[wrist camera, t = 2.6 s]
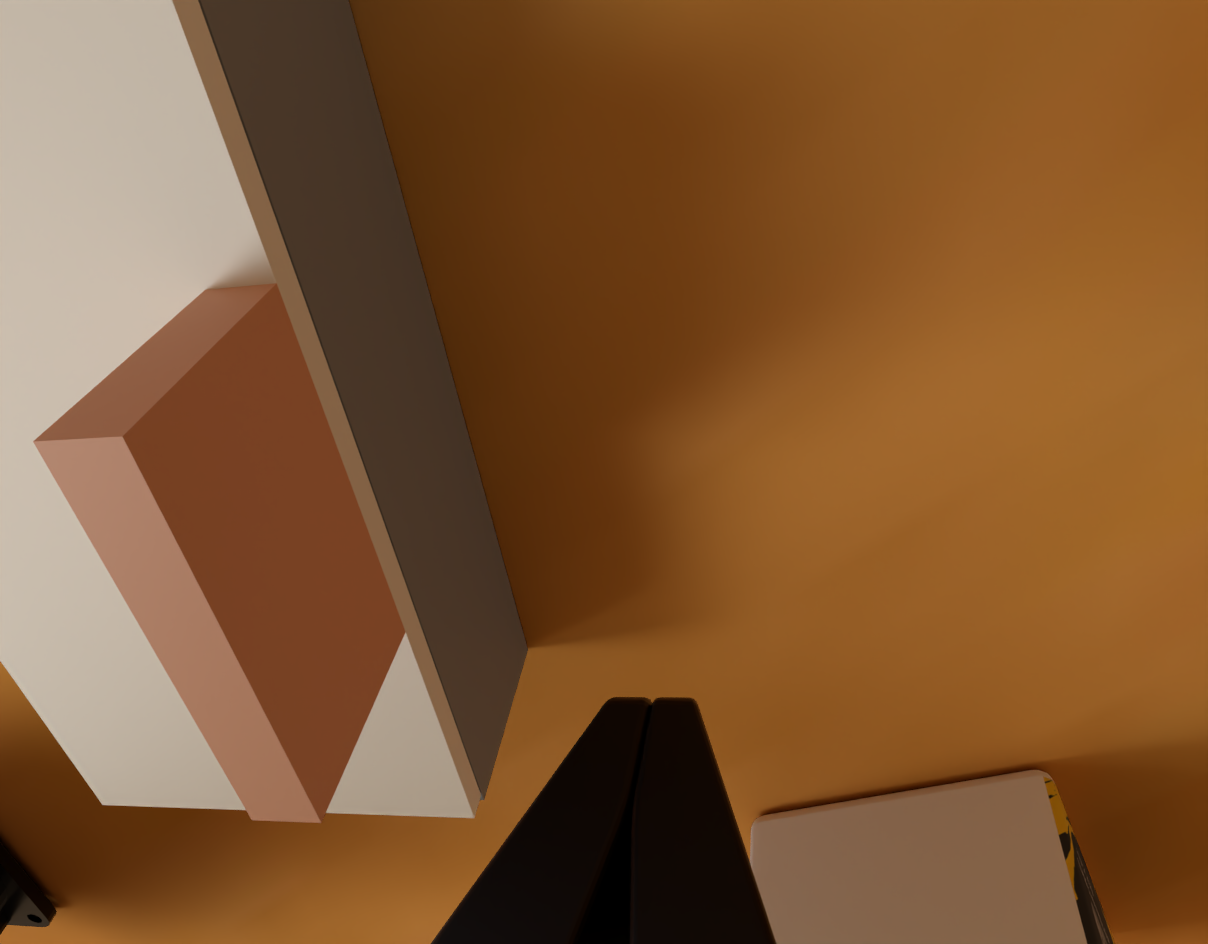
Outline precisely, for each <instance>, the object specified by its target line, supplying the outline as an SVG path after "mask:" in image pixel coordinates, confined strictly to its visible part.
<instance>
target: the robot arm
mask: <svg viewBox="0 0 1208 944" xmlns="http://www.w3.org/2000/svg"><path fill="white" fill-rule="evenodd" d="M56 912H57V911H56V909H55V908H54V906H53V905H52V904H51V903H50V902H49V900H48V899H47V898H46V897H45V896H44V894H43V893H42V892H41V891H40V890H39V888H38V887H37V886H36V885H35V884H34V882H33V881H32V880H31V879H30V878H29V876H28V875H27V874H26V873H25V872H24V870H23V869H22V868H21V867H20V865H19V864H18V863H17V862H16V861H15V859H14V858H13V857H12V856H11V855H10V853H9V852H8V851H7V850H6V849H5V847H4V846H3V845H2V844H1V843H0V934H1V933H2V931H3V930H4V929H5V927H6V926H7V925H19V926H34V927H47V926H48V925H49V924H50V923H51V921H52V919H53V918H54V916H55V915H56ZM431 944H777V943H776V940H775V937H774V934H773V931H772V928H771V925H770V922H769V919H768V916H767V913H766V910H765V907H764V904H763V901H762V898H761V895H760V892H759V889H758V886H757V883H756V880H755V877H754V874H753V871H752V868H751V865H750V861H749V858H748V855H747V852H746V849H745V846H744V843H743V840H742V837H741V834H740V831H739V828H738V825H737V822H736V819H735V816H734V813H733V810H732V807H731V804H730V801H729V798H728V795H727V792H726V789H725V786H724V783H723V780H722V776H721V773H720V770H719V767H718V764H717V761H716V758H715V755H714V752H713V749H712V746H711V743H710V740H709V737H708V734H707V731H706V728H705V725H704V722H703V719H702V716H701V713H700V710H699V707H698V704H697V702H696V701H695V700H694V699H692V698H672V697H661V698H657V699H655V700H654V702H653V703H652V702H651V700H649V699H648V698H645V697H615V698H611V699H609V700H608V701H607V702H606V703H605V704H604V705H603V706H602V708H601V709H600V711H599V712H598V713H597V715H596V716H595V717H594V719H593V720H592V722H591V723H590V724H589V726H588V727H587V729H586V730H585V731H584V733H583V734H582V735H581V737H580V738H579V740H578V741H577V742H576V744H575V745H574V747H573V748H572V749H571V751H570V752H569V753H568V755H567V756H566V758H565V759H564V760H563V762H562V763H561V764H560V766H559V767H558V769H557V770H556V771H555V773H554V774H553V776H552V777H551V778H550V780H549V781H548V782H547V784H546V785H545V787H544V788H543V789H542V791H541V792H540V793H539V795H538V796H537V798H536V799H535V800H534V802H533V803H532V805H531V806H530V807H529V809H528V810H527V811H526V813H525V814H524V816H523V817H522V818H521V820H520V821H519V822H518V824H517V825H516V827H515V828H514V829H513V831H512V832H511V834H510V835H509V836H508V838H507V839H506V840H505V842H504V843H503V845H502V846H501V847H500V849H499V850H498V852H497V853H496V854H495V856H494V857H493V858H492V860H491V861H490V863H489V864H488V865H487V867H486V868H485V869H484V871H483V872H482V874H481V875H480V876H479V878H478V879H477V881H476V882H475V883H474V885H473V886H472V887H471V889H470V890H469V892H468V893H467V894H466V896H465V897H464V898H463V900H462V901H461V903H460V904H459V905H458V907H457V908H456V910H455V911H454V912H453V914H452V915H451V916H450V918H449V919H448V921H447V922H446V923H445V925H444V926H443V927H442V929H441V930H440V932H439V933H438V934H437V936H436V937H435V939H434V940H433V941H432V943H431Z"/></svg>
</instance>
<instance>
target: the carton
mask: <svg viewBox="0 0 1208 944" xmlns="http://www.w3.org/2000/svg"><path fill="white" fill-rule="evenodd" d="M198 2H199V4H200V7H201V10H202V13H203V16H204V18H205V21H206V24H207V27H208V30H209V32H210V35H211V38H212V41H213V44H214V46H215V49H216V52H217V55H218V58H219V61H220V63H221V66H222V69H223V72H224V75H225V77H226V80H227V83H228V86H229V89H230V91H231V94H232V97H233V100H234V103H235V105H236V108H237V111H238V114H239V117H240V120H241V122H242V125H243V128H244V131H245V134H246V136H247V139H248V142H249V145H250V148H251V150H252V153H253V156H254V159H255V162H256V165H257V167H258V170H259V173H260V176H261V179H262V181H263V184H264V187H265V190H266V193H267V195H268V198H269V201H270V204H271V207H272V209H273V212H274V215H275V218H276V221H277V224H278V226H279V229H280V232H281V235H282V238H283V240H284V243H285V246H286V249H287V252H288V254H289V257H290V260H291V263H292V266H293V268H294V271H295V274H296V277H297V280H298V283H299V285H300V288H301V291H302V294H303V297H304V299H305V302H306V305H307V308H308V311H309V313H310V316H311V319H312V322H313V325H314V328H315V330H316V333H317V336H318V339H319V342H320V344H321V347H322V350H323V353H324V356H325V358H326V361H327V364H328V367H329V370H330V372H331V375H332V378H333V381H334V384H335V387H336V389H337V392H338V395H339V398H340V401H341V403H342V406H343V409H344V412H345V415H346V417H347V420H348V423H349V426H350V429H351V431H352V434H353V437H354V440H355V443H356V446H357V448H358V451H359V454H360V457H361V460H362V462H363V465H364V468H365V471H366V474H367V476H368V479H369V482H370V485H371V488H372V491H373V493H374V496H375V499H376V502H377V505H378V507H379V510H380V513H381V516H382V519H383V521H384V524H385V527H386V530H387V533H388V535H389V538H390V541H391V544H392V547H393V550H394V552H395V555H396V558H397V561H398V564H399V566H400V569H401V572H402V575H403V578H404V580H405V583H406V586H407V589H408V592H409V594H410V597H411V600H412V603H413V606H414V609H415V611H416V614H417V617H418V620H419V623H420V625H421V628H422V631H423V634H424V637H425V639H426V642H427V645H428V648H429V651H430V654H431V656H432V659H433V662H434V665H435V668H436V670H437V673H438V676H439V679H440V682H441V684H442V687H443V690H444V693H445V696H446V698H447V701H448V704H449V707H450V710H451V713H452V715H453V718H454V721H455V724H456V727H457V729H458V732H459V735H460V738H461V741H462V743H463V746H464V749H465V752H466V755H467V757H468V760H469V763H470V766H471V769H472V772H473V774H474V777H475V780H476V783H477V786H478V788H479V791H480V794H481V797H480V800H484V798H485V795H486V792H487V788H488V785H489V781H490V778H491V774H492V771H493V768H494V764H495V761H496V757H497V754H498V750H499V747H500V744H501V740H502V737H503V733H504V730H505V726H506V723H507V720H508V716H509V713H510V709H511V706H512V702H513V699H514V696H515V692H516V689H517V685H518V682H519V678H520V675H521V672H522V668H523V665H524V661H525V658H526V654H527V651H528V648H527V645H526V641H525V638H524V634H523V630H522V627H521V623H520V619H519V616H518V612H517V609H516V605H515V601H514V598H513V594H512V590H511V587H510V583H509V580H508V576H507V572H506V569H505V565H504V561H503V558H502V554H501V551H500V547H499V543H498V540H497V536H496V533H495V529H494V525H493V522H492V518H491V514H490V511H489V507H488V504H487V500H486V496H485V493H484V489H483V485H482V482H481V478H480V475H479V471H478V467H477V464H476V460H475V456H474V453H473V449H472V446H471V442H470V438H469V435H468V431H467V428H466V424H465V420H464V417H463V413H462V409H461V406H460V402H459V399H458V395H457V391H456V388H455V384H454V380H453V377H452V373H451V370H450V366H449V362H448V359H447V355H446V351H445V348H444V344H443V341H442V337H441V333H440V330H439V326H438V323H437V319H436V315H435V312H434V308H433V304H432V301H431V297H430V294H429V290H428V286H427V283H426V279H425V275H424V272H423V268H422V265H421V261H420V257H419V254H418V250H417V246H416V243H415V239H414V236H413V232H412V228H411V225H410V221H409V217H408V214H407V210H406V207H405V203H404V199H403V196H402V192H401V189H400V185H399V181H398V178H397V174H396V170H395V167H394V163H393V160H392V156H391V152H390V149H389V145H388V141H387V138H386V134H385V131H384V127H383V123H382V120H381V116H380V112H379V109H378V105H377V102H376V98H375V94H374V91H373V87H372V84H371V80H370V76H369V73H368V69H367V65H366V62H365V58H364V55H363V51H362V47H361V44H360V40H359V36H358V33H357V29H356V26H355V22H354V18H353V15H352V11H351V7H350V4H349V0H198Z"/></svg>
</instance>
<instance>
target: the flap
mask: <svg viewBox="0 0 1208 944" xmlns="http://www.w3.org/2000/svg"><path fill="white" fill-rule="evenodd" d="M0 661H1V662H2V664H3V665H4V667H5V668H6V669H7V671H8V672H9V674H10V675H11V676H12V678H13V679H14V681H15V682H16V683H17V685H18V686H19V688H20V689H21V691H22V692H23V693H24V695H25V696H26V698H27V699H28V700H29V702H30V703H31V705H32V706H33V707H34V709H35V710H36V712H37V713H38V715H39V716H40V717H41V719H42V720H43V722H44V723H45V724H46V726H47V727H48V729H49V730H50V732H51V733H52V734H53V736H54V737H55V739H56V740H57V741H58V743H59V744H60V746H61V747H62V748H63V750H64V751H65V753H66V754H67V756H68V757H69V758H70V760H71V761H72V763H73V764H74V765H75V767H76V768H77V770H78V771H79V772H80V774H81V775H82V777H83V778H84V780H85V781H86V782H87V784H88V785H89V787H90V788H91V789H92V791H93V792H94V794H95V795H96V796H97V798H98V799H99V801H100V802H101V804H102V805H115V806H143V807H171V808H200V809H228V810H246V811H247V812H248V814H249V816H250V818H251V819H252V820H257V821H284V822H310V823H321V822H322V820H323V818H324V816H325V813H341V814H369V815H398V816H426V817H454V818H475V814H476V811H477V808H478V804H479V801H480V797H481V794H480V791H479V788H478V786H477V783H476V780H475V777H474V774H473V772H472V769H471V766H470V763H469V760H468V757H467V755H466V752H465V749H464V746H463V743H462V741H461V738H460V735H459V732H458V729H457V727H456V724H455V721H454V718H453V715H452V713H451V710H450V707H449V704H448V701H447V698H446V696H445V693H444V690H443V687H442V684H441V682H440V679H439V676H438V673H437V670H436V668H435V665H434V662H433V659H432V656H431V654H430V651H429V648H428V645H427V642H426V639H425V637H424V634H423V631H422V628H421V625H420V623H419V620H418V617H417V614H416V611H415V609H414V606H413V603H412V600H411V597H410V594H409V592H408V589H407V586H406V583H405V580H404V578H403V575H402V572H401V569H400V566H399V564H398V561H397V558H396V555H395V552H394V550H393V547H392V544H391V541H390V538H389V535H388V533H387V530H386V527H385V524H384V521H383V519H382V516H381V513H380V510H379V507H378V505H377V502H376V499H375V496H374V493H373V491H372V488H371V485H370V482H369V479H368V476H367V474H366V471H365V468H364V465H363V462H362V460H361V457H360V454H359V451H358V448H357V446H356V443H355V440H354V437H353V434H352V431H351V429H350V426H349V423H348V420H347V417H346V415H345V412H344V409H343V406H342V403H341V401H340V398H339V395H338V392H337V389H336V387H335V384H334V381H333V378H332V375H331V372H330V370H329V367H328V364H327V361H326V358H325V356H324V353H323V350H322V347H321V344H320V342H319V339H318V336H317V333H316V330H315V328H314V325H313V322H312V319H311V316H310V313H309V311H308V308H307V305H306V302H305V299H304V297H303V294H302V291H301V288H300V285H299V283H298V280H297V277H296V274H295V271H294V268H293V266H292V263H291V260H290V257H289V254H288V252H287V249H286V246H285V243H284V240H283V238H282V235H281V232H280V229H279V226H278V224H277V221H276V218H275V215H274V212H273V209H272V207H271V204H270V201H269V198H268V195H267V193H266V190H265V187H264V184H263V181H262V179H261V176H260V173H259V170H258V167H257V165H256V162H255V159H254V156H253V153H252V150H251V148H250V145H249V142H248V139H247V136H246V134H245V131H244V128H243V125H242V122H241V120H240V117H239V114H238V111H237V108H236V105H235V103H234V100H233V97H232V94H231V91H230V89H229V86H228V83H227V80H226V77H225V75H224V72H223V69H222V66H221V63H220V61H219V58H218V55H217V52H216V49H215V46H214V44H213V41H212V38H211V35H210V32H209V30H208V27H207V24H206V21H205V18H204V16H203V13H202V10H201V7H200V4H199V2H198V0H0Z"/></svg>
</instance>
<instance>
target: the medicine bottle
mask: <svg viewBox="0 0 1208 944" xmlns="http://www.w3.org/2000/svg"><path fill="white" fill-rule="evenodd" d="M750 865H751V868H752V871H753V874H754V877H755V880H756V883H757V886H758V889H759V892H760V895H761V898H762V901H763V904H764V907H765V910H766V913H767V916H768V919H769V922H770V925H771V928H772V931H773V934H774V937H775V940H776V943H777V944H1115V942H1114V938H1113V936H1112V933H1111V931H1110V928H1109V925H1108V923H1107V920H1106V917H1105V915H1104V912H1103V909H1102V907H1101V904H1100V901H1099V899H1098V896H1097V893H1096V891H1095V888H1094V885H1093V883H1092V880H1091V877H1090V875H1089V872H1088V869H1087V867H1086V864H1085V861H1084V859H1083V856H1082V853H1081V851H1080V848H1079V845H1078V843H1077V840H1076V837H1075V835H1074V832H1073V829H1072V827H1071V824H1070V821H1069V819H1068V816H1067V813H1066V811H1065V808H1064V805H1063V803H1062V800H1061V797H1060V795H1059V792H1058V789H1057V787H1056V784H1055V782H1054V781H1053V779H1052V778H1051V777H1050V775H1049V774H1048V773H1046V772H1043V771H1040V770H1027V771H1021V772H1016V773H1010V774H1004V775H998V776H992V777H986V778H980V779H974V780H968V781H962V782H957V783H951V784H945V785H939V786H933V787H927V788H921V789H915V790H909V791H903V792H898V793H892V794H886V795H880V796H874V797H868V798H862V799H856V800H850V801H844V802H839V803H833V804H827V805H821V806H815V807H809V808H803V809H797V810H791V811H785V812H780V813H774V814H768V815H763V816H760V817H758V818H756V819H755V821H754V822H753V825H752V827H751V848H750Z"/></svg>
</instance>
